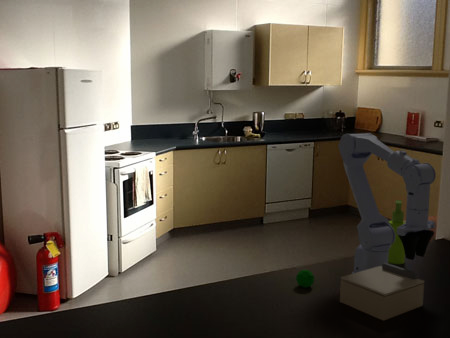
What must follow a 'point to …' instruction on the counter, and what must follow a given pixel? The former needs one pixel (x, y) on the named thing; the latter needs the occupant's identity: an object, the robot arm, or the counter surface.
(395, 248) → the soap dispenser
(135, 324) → the counter surface
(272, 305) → the counter surface
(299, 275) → the green ball
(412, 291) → the carton
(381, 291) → the carton lid
